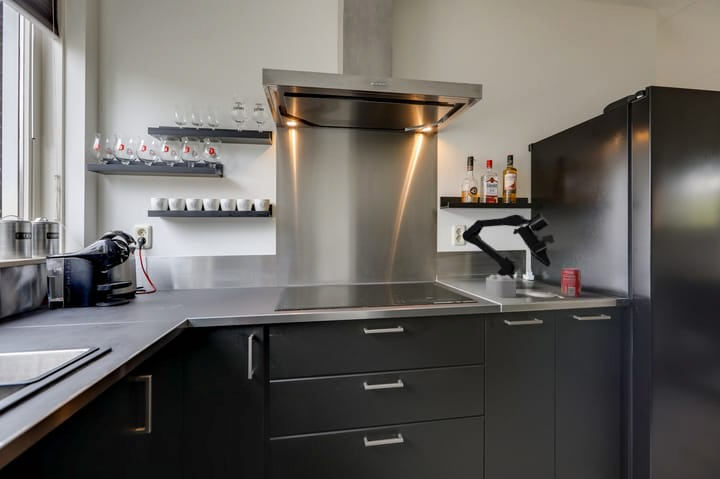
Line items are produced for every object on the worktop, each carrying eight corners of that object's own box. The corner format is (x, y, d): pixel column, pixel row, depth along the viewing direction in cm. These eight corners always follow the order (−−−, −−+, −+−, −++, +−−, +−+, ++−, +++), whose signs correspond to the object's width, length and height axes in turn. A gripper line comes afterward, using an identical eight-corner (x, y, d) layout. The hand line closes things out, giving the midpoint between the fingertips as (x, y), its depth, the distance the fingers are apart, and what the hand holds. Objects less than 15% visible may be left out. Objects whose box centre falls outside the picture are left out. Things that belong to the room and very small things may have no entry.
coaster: (524, 295, 137) (524, 294, 137) (528, 292, 146) (528, 290, 146) (554, 298, 130) (554, 297, 130) (555, 294, 139) (556, 293, 139)
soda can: (574, 294, 140) (575, 267, 140) (584, 297, 133) (584, 269, 133) (558, 294, 140) (558, 267, 140) (566, 297, 133) (567, 269, 133)
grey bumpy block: (497, 298, 131) (498, 277, 131) (479, 292, 144) (480, 273, 144) (519, 297, 133) (519, 276, 133) (500, 292, 146) (500, 273, 146)
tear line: (547, 293, 143) (547, 292, 143) (549, 293, 143) (549, 292, 143) (562, 298, 131) (562, 297, 131) (564, 298, 131) (564, 297, 131)
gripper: (546, 224, 140) (569, 254, 134) (544, 231, 156) (564, 259, 150) (522, 237, 143) (543, 266, 138) (523, 243, 160) (542, 270, 154)
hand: (549, 265), depth 145 cm, fingers open, 9 cm apart
